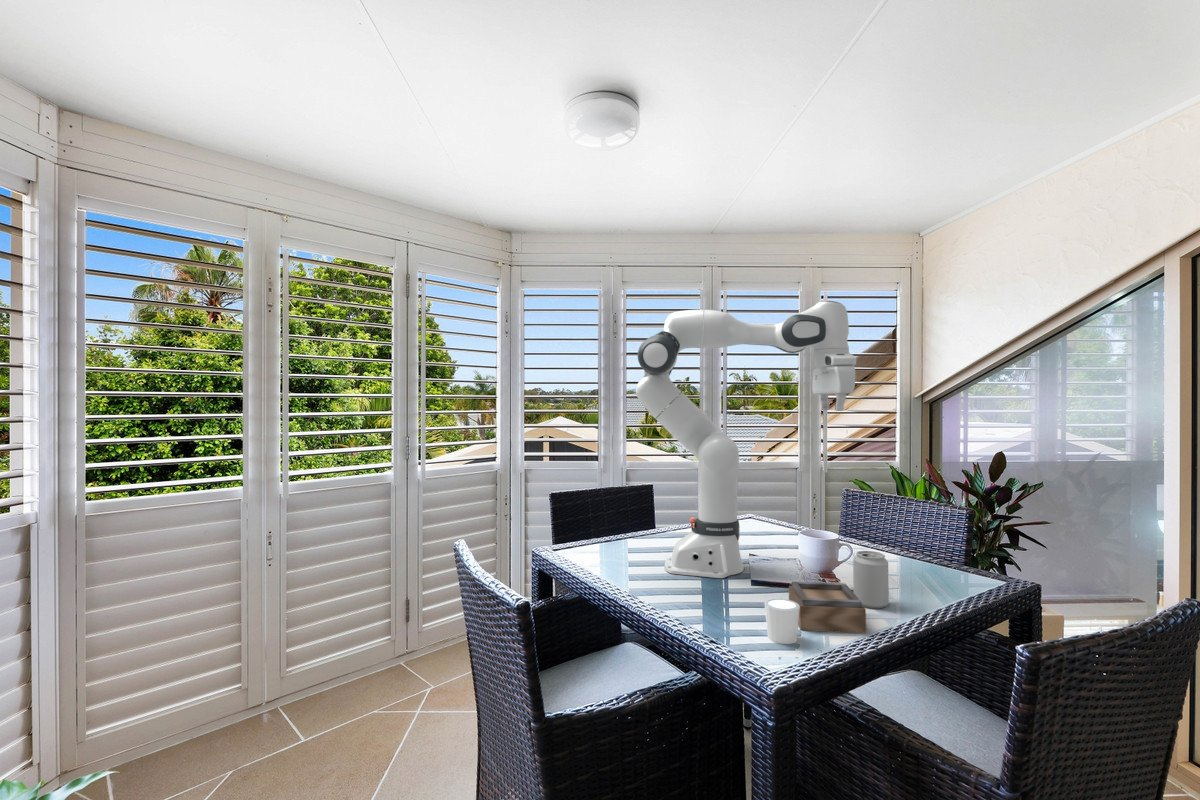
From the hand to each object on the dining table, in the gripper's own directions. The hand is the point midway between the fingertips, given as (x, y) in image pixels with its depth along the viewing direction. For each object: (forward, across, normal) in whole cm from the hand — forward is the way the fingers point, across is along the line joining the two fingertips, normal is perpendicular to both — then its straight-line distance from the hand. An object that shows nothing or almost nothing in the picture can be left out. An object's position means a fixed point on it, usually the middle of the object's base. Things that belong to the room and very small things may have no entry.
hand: (832, 410), depth 153 cm
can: (+46, +21, 0) cm, 50 cm away
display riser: (+45, +30, -14) cm, 57 cm away
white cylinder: (+46, +40, -27) cm, 66 cm away
